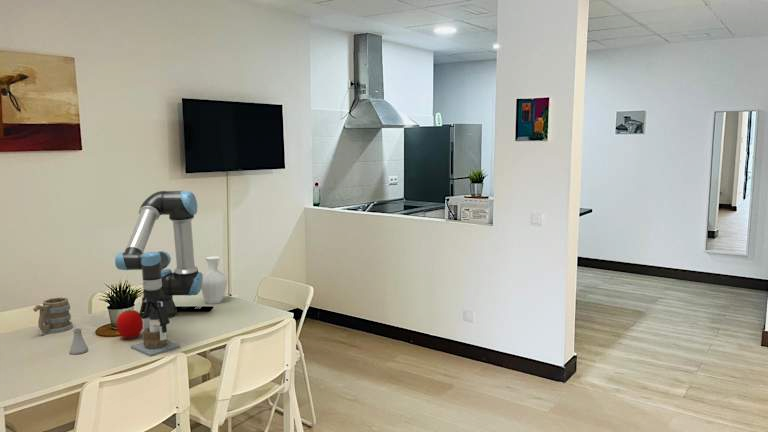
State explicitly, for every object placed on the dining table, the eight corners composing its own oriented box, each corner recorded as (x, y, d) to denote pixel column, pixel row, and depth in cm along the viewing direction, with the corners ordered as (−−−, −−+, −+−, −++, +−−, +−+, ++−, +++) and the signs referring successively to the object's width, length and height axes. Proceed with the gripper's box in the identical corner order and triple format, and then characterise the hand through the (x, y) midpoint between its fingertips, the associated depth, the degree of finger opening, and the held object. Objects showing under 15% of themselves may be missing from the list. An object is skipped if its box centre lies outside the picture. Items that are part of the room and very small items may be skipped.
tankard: (56, 323, 285) (53, 294, 283) (78, 325, 282) (76, 295, 280) (23, 337, 265) (20, 305, 263) (47, 339, 263) (44, 307, 261)
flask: (75, 348, 252) (73, 326, 250) (91, 348, 251) (90, 326, 250) (65, 354, 244) (64, 331, 243) (82, 355, 244) (81, 332, 243)
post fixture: (130, 348, 252) (129, 326, 251) (160, 339, 263) (159, 319, 262) (150, 356, 242) (149, 334, 241) (180, 347, 253) (179, 326, 252)
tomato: (140, 341, 261) (138, 313, 259) (114, 342, 259) (112, 314, 258) (146, 332, 272) (144, 306, 270) (121, 334, 270) (120, 307, 269)
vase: (212, 306, 314) (211, 261, 311) (195, 302, 322) (193, 258, 318) (233, 300, 326) (231, 256, 323) (215, 296, 334) (214, 254, 330)
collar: (140, 343, 252) (139, 330, 251) (159, 338, 259) (158, 325, 258) (151, 348, 246) (150, 334, 246) (170, 342, 253) (170, 329, 252)
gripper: (129, 285, 254) (131, 332, 257) (160, 295, 239) (162, 344, 241) (145, 282, 260) (147, 328, 263) (176, 291, 244) (179, 340, 247)
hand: (155, 336), depth 252 cm, fingers open, 13 cm apart
